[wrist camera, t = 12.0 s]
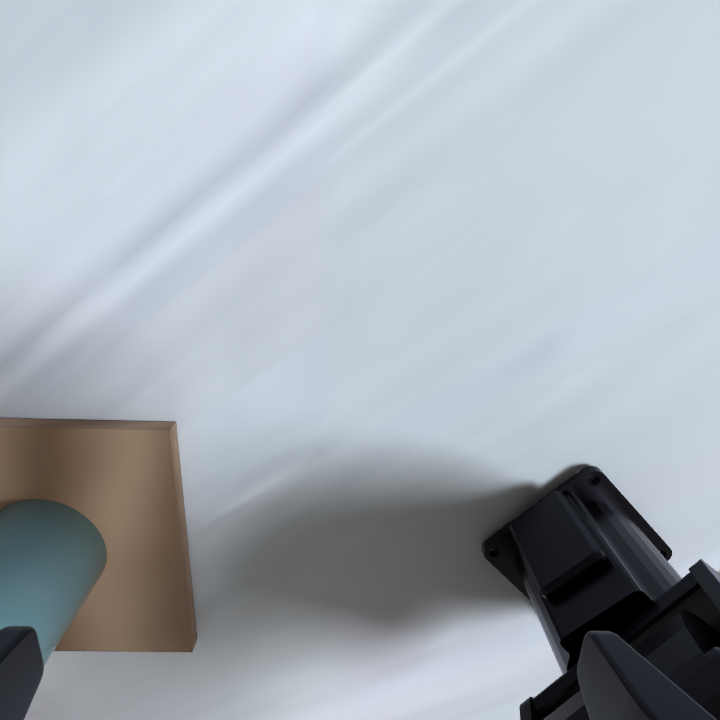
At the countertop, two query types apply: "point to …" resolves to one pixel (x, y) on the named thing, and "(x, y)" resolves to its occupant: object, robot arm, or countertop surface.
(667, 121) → the countertop surface
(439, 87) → the countertop surface
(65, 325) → the countertop surface
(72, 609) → the cylinder
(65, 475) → the walnut board
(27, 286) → the countertop surface
